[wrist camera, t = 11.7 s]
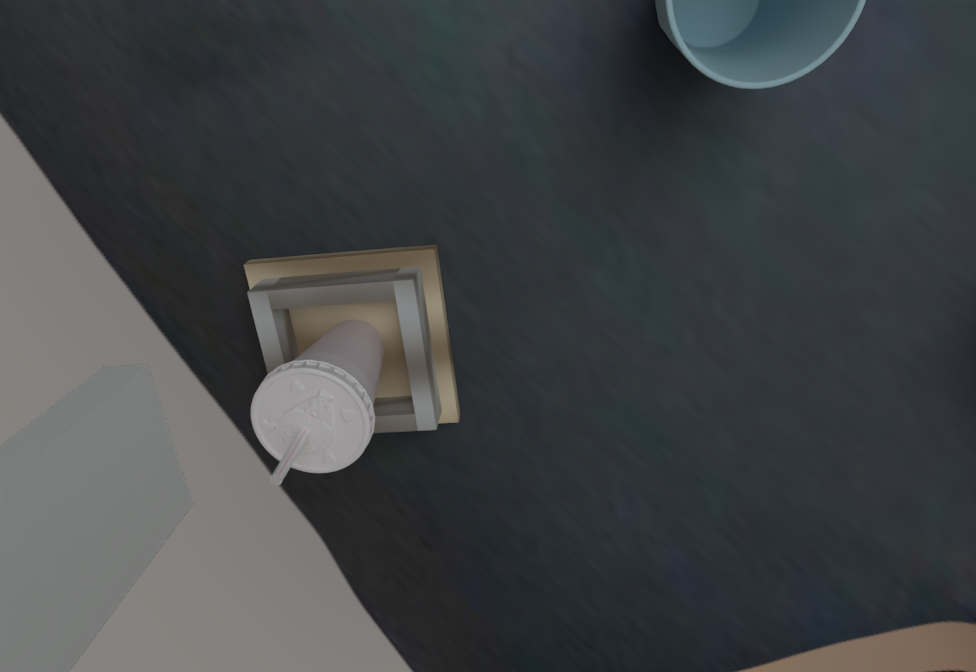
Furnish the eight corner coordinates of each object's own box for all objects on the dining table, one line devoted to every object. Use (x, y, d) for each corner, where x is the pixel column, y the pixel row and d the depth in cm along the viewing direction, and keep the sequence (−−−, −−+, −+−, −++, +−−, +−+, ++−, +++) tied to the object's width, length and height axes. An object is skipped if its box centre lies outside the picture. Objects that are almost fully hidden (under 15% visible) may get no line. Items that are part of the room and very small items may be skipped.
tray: (249, 259, 44) (226, 277, 40) (436, 244, 42) (428, 261, 39) (290, 424, 48) (272, 451, 45) (460, 414, 47) (454, 442, 44)
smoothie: (291, 359, 45) (191, 487, 32) (333, 280, 43) (243, 385, 30) (377, 406, 46) (314, 549, 33) (423, 331, 44) (373, 454, 31)
